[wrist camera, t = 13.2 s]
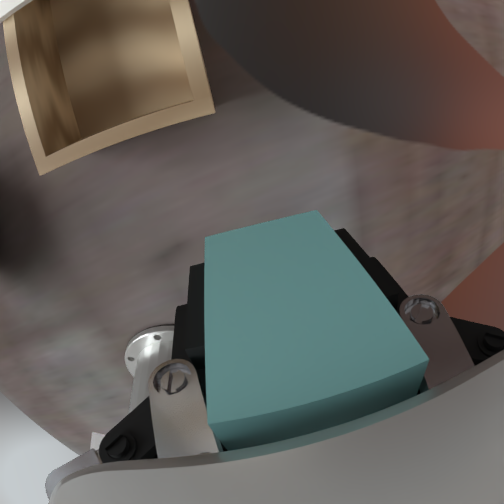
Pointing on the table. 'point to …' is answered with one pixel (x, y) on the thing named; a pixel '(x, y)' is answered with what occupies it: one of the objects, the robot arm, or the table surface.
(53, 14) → the tan open box
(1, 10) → the lid
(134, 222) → the table surface
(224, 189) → the table surface
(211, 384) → the block
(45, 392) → the table surface
